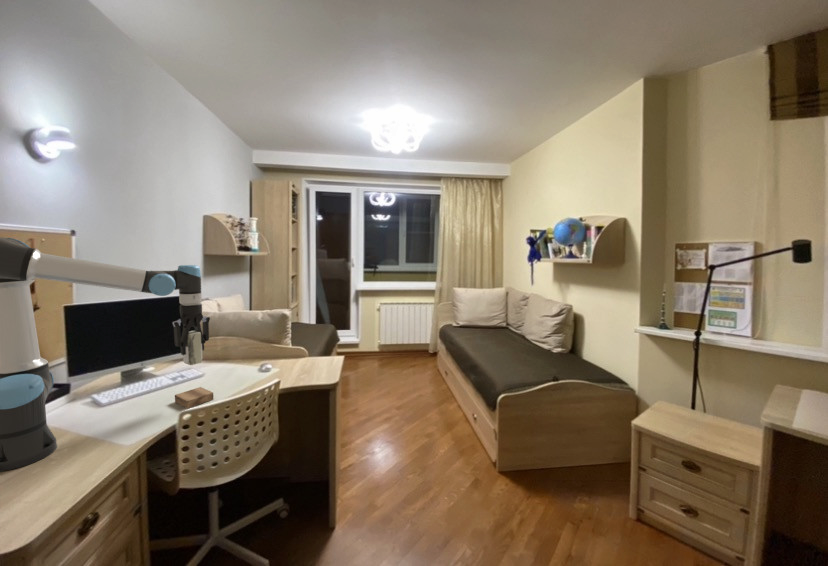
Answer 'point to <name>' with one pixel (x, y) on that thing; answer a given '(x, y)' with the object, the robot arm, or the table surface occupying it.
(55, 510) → the table surface
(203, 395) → the base
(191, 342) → the box
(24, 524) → the table surface
